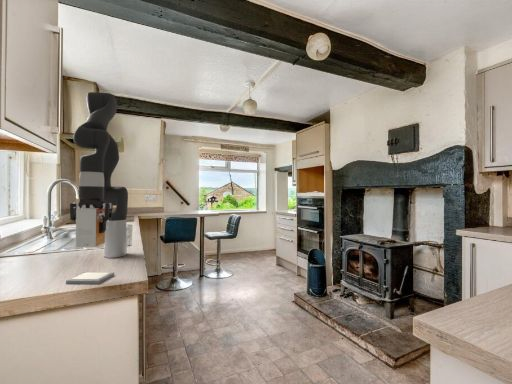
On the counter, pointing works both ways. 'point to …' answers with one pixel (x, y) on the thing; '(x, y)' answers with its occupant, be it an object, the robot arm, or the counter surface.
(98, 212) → the small box
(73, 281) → the board
